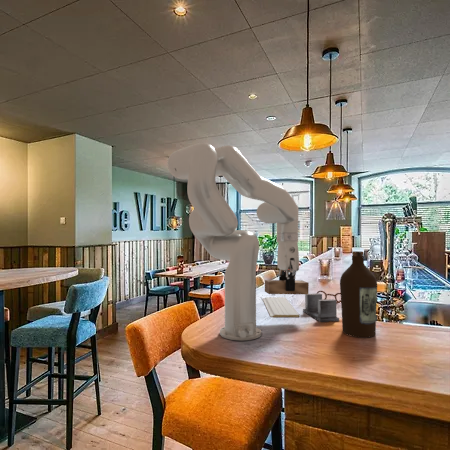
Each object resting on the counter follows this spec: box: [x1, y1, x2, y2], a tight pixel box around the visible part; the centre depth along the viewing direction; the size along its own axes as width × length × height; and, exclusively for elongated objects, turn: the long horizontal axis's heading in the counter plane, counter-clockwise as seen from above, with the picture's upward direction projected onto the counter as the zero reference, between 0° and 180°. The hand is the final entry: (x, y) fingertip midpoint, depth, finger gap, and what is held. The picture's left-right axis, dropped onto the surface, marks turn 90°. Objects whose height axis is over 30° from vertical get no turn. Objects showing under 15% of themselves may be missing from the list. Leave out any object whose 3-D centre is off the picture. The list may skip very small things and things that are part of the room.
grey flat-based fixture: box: [302, 292, 340, 323], centre depth 119 cm, size 15×7×7 cm, turn 9°
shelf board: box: [264, 279, 309, 295], centre depth 114 cm, size 14×6×4 cm, turn 97°
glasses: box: [315, 290, 341, 305], centre depth 139 cm, size 13×13×5 cm
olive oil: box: [339, 250, 378, 339], centre depth 99 cm, size 11×11×25 cm
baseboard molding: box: [259, 294, 301, 318], centre depth 134 cm, size 31×3×12 cm
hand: (286, 288), depth 114 cm, fingers closed on shelf board, 6 cm apart
